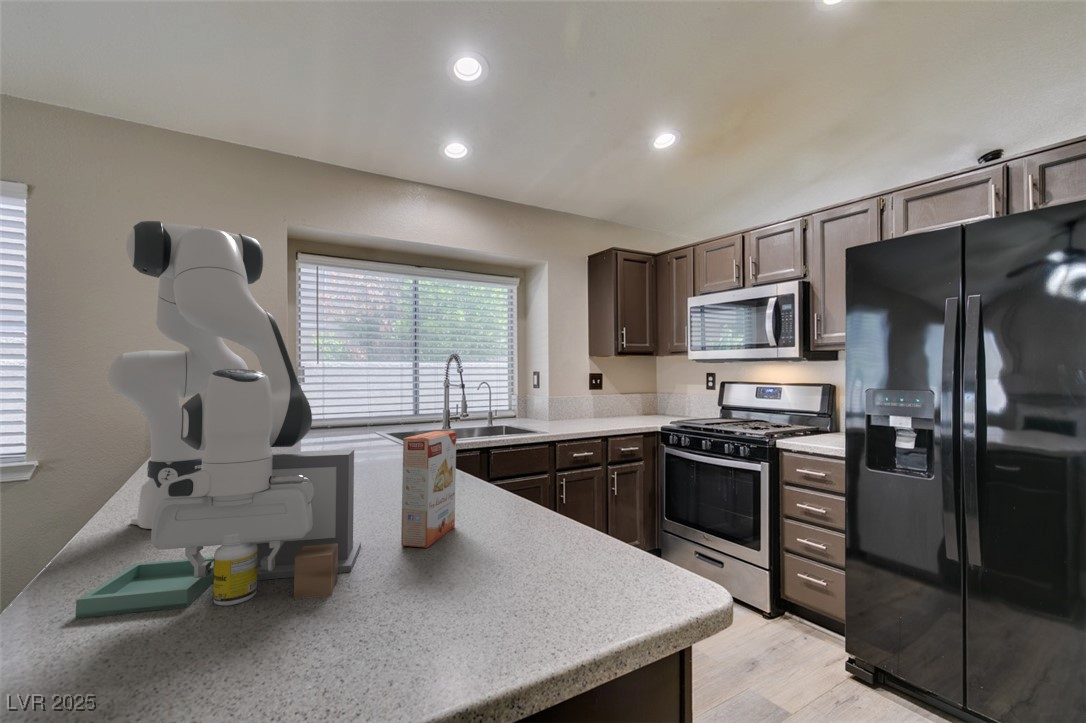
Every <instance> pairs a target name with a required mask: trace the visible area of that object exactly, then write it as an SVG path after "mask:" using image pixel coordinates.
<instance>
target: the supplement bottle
mask: <svg viewBox="0 0 1086 723" xmlns="http://www.w3.org/2000/svg"><path fill="white" fill-rule="evenodd" d="M239 542H240V540H239V534H234V535H224V541H223V543H224V544H222V545H220V546H219V547H218V548H217V549H216V550H215V551H214V554H213V557H214V582H213V583H212V585H213V590H212V592H213V593H212V595H213V597H212V598H213V599H212V600H213V604H215V605H218V606H220V607H221V606H224V607H225V606H234V605H238V604H241V603H244V602H246V601H249V600H250V599H253V597H254V596H255V595H256V594H257V591H258V580H257V545H256V543H254V542H253V543H239Z"/></svg>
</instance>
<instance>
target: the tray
mask: <svg viewBox="0 0 1086 723" xmlns="http://www.w3.org/2000/svg"><path fill="white" fill-rule="evenodd" d="M203 558H204V560H205V561H211V566H210V568H211V573H210V574H209V575H208V576H207V577H199V578H195V577H194V566H193V565H192V564H191V562H190V561H189V560H188V558H185V559H173V560H172V559H171V560H159V561H149V562H148V561H147V562H138V563H137V562H136V563H133V564H131V565H130V566H128V567H127V568H126V569H124V570H122V571H121V572H119V573H118V574H116V575H114V576H113V577H111V578H109V579H107V580H106V581H104V582H103V583H101V584H100V585H98V586H96V587H95V588H93V589H92V590H90V591H88V592H86V593H85V594H83V595H81V596H80V597H79V598H77V599H75V620H76V619H77V620H78V619H85V618H87V619H89V618H95V617H107V616H115V615H124V614H125V615H126V614H136V613H142V612H143V613H144V612H145V613H146V612H155V611H162V610H163V611H164V610H172V609H173V610H174V609H183V608H188V607H189V606H191V604H192V603H193V602H195V600H197V599H198V598H199V597H200V596H201V595H202V594H203V593H204V592H205V591H206V590H207V589H208V588H209V587H210V586H212V585H213V583H214V556H210V557H209V556H206V557H203Z"/></svg>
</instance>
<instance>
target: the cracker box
mask: <svg viewBox="0 0 1086 723" xmlns="http://www.w3.org/2000/svg"><path fill="white" fill-rule="evenodd" d="M402 444H403V445H402V446H403V448H402V486H401V487H402V488H401V490H402V493H401V496H402V497H401V530H400V531H401V538H400V545H401V546H402V547H414V548H422V549H423V548H425V549H427V548H429V547H430V546H432V544H434V543H435V542H436V541H438V540H439V539H440V538H441V537H443V536H444V535H445V534H447V533H448V532H449V531H451V530H453V528H455V525H456V524H455V522H456V515H455V514H456V480H457V479H456V475H457V474H456V469H457V468H456V467H457V432H456V431H452V430H450V431H448V430H447V431H445V430H434V431H429V432H425V433H420V434H416V435H411V436H408V437H403V443H402Z"/></svg>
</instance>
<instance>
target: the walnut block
mask: <svg viewBox="0 0 1086 723" xmlns="http://www.w3.org/2000/svg"><path fill="white" fill-rule="evenodd" d="M337 565H338V543H337V544H325V545H313V546H303V548H302V549H301V550H300V552H299V553H298V554H297V556H296V557H295V574H294V577H293V578H294V581H293V582H294V586H293V599H294V600H300V599H302V600H303V599H310V598H320V597H329V596H332V594H333V592H334V590H335V587H336V585H337V583H338V573H337Z"/></svg>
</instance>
